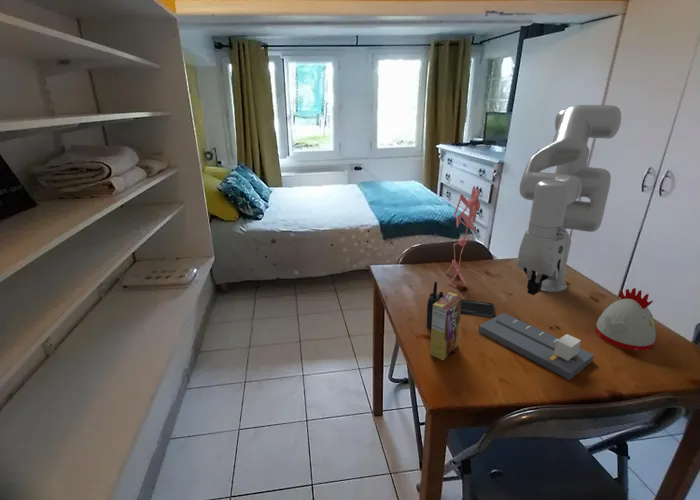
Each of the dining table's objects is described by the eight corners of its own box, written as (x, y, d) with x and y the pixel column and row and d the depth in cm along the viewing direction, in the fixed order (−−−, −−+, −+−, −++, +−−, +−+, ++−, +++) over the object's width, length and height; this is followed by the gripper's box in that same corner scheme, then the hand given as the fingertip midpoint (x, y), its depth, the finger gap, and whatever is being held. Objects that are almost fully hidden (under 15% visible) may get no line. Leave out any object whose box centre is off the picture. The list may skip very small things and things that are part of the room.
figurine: (449, 295, 133) (462, 195, 120) (441, 265, 157) (451, 179, 144) (495, 298, 132) (513, 197, 119) (480, 267, 156) (493, 180, 143)
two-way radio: (429, 331, 113) (433, 284, 108) (421, 323, 117) (424, 278, 111) (445, 327, 115) (450, 281, 109) (437, 319, 119) (441, 275, 113)
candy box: (444, 339, 109) (448, 291, 103) (458, 345, 106) (464, 296, 101) (428, 354, 103) (432, 303, 97) (442, 361, 100) (448, 309, 94)
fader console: (502, 318, 119) (503, 312, 119) (592, 361, 100) (594, 354, 99) (478, 331, 113) (479, 324, 112) (569, 380, 93) (571, 372, 92)
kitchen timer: (632, 356, 102) (647, 306, 96) (584, 329, 114) (595, 283, 108) (664, 343, 107) (681, 295, 102) (615, 319, 119) (628, 275, 113)
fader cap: (563, 346, 102) (566, 333, 100) (577, 353, 99) (581, 340, 97) (553, 353, 99) (556, 340, 97) (568, 361, 96) (571, 347, 95)
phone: (446, 297, 130) (493, 303, 126) (446, 300, 131) (493, 306, 127) (445, 308, 123) (495, 315, 119) (445, 311, 124) (494, 318, 120)
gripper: (582, 234, 95) (567, 299, 102) (525, 219, 106) (515, 278, 113) (567, 242, 91) (553, 309, 98) (509, 225, 102) (500, 286, 109)
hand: (533, 292), depth 106 cm, fingers closed
